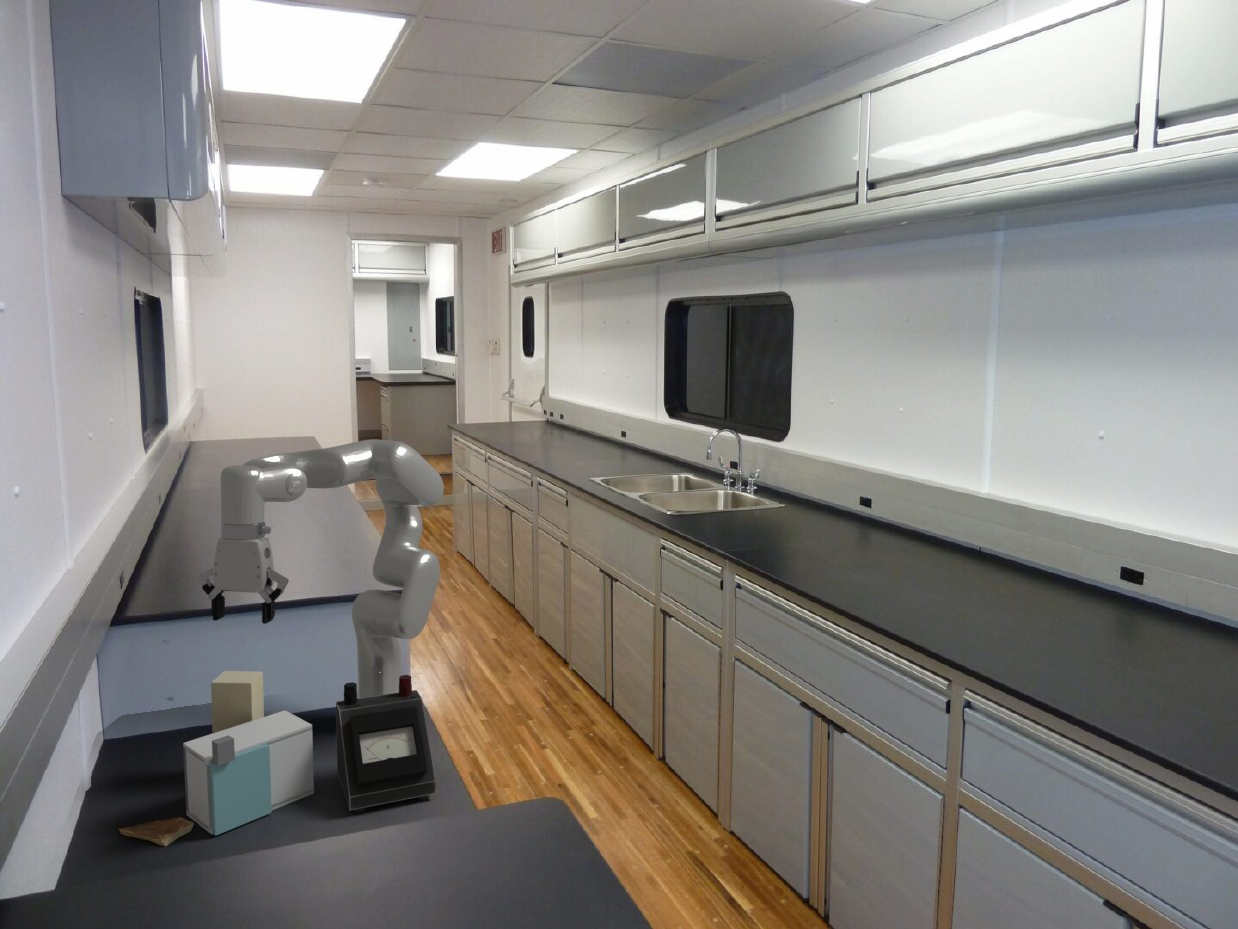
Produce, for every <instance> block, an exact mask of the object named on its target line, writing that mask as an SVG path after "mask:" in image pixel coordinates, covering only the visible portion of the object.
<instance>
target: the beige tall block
mask: <svg viewBox="0 0 1238 929" xmlns="http://www.w3.org/2000/svg"><path fill="white" fill-rule="evenodd" d="M210 687H211V688H210V689H211V690H210V691H211V692H210V693H211V696H210V697H211V721H212V722H211V725H212V727H211V728H212V729H211V730H212V734H213V733H216V732H219V731H222V730H225V729H229V728H232V727H235V726H238V725H241V724H244V723H247V722H250V721H253V720H257V719H260V718H263V717H265V710H264V709H265V708H264V705H265V703H264V700H265V699H264V697H265V696H264V673H263V671H260V670H259V671H258V670H257V671H253V670H245V671H244V670H224V671H223V672H221V673H220V674H219V675H218V676H217V677H216V678H215V679H213V681H211V683H210Z"/></svg>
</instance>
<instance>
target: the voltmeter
mask: <svg viewBox="0 0 1238 929" xmlns="http://www.w3.org/2000/svg"><path fill="white" fill-rule="evenodd" d="M423 703H424V702H423V698H422V696H421V694H420V693H419V692H418V690H417V689H413V684H412V676H411V675H409V674H403V675H402V674H401V676H400V677H399V693H392V694H385V695H378V696H372V697H365V698H358V683H357V682H346V683H345V684H344V685H343V700H340V701H339V700H337V701H335V720H336V724H335V725H336V726H335V727H336V728H335V729H336V765H337V766H336V767H337V770H336V773H337V775H338V779H339V781H340V785H341V788H342V790H343V794H344V797H345V800H346V803H347V807H348V810H349V811H353V810H354V812H355V813H364V811H366V809H367V808H369V807H373V806H379V805H383V804H388V803H394V802H399V801H406V800H408V799H409V800H410V799H415V798H416V799H417V798H418V799H417V800H419V799H420V800H419V801H423V799H424V800H426V799H428V798H429V795H435V794H437V781H436V775H435V768H434V762H433V757H432V750H431V744H430V739H429V732H428V726H427V721H426V714H425V709H424V708H425V707H424V704H423ZM427 797H428V798H427Z"/></svg>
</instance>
